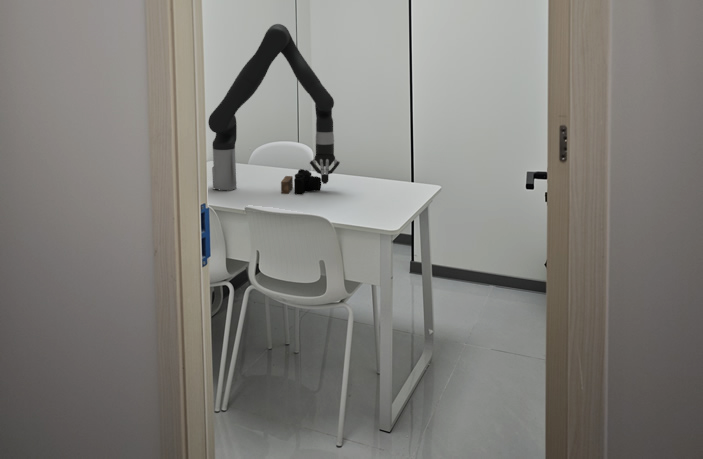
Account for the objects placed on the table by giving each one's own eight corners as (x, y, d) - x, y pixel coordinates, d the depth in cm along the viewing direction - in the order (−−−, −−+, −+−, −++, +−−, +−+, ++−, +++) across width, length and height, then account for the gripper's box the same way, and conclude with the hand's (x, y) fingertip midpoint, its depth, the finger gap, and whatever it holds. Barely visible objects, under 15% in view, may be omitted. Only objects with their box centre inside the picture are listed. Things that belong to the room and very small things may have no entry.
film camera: (314, 196, 301) (314, 174, 299) (291, 194, 303) (291, 173, 301) (323, 187, 316) (323, 167, 313) (302, 186, 317) (301, 166, 315)
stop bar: (281, 193, 304) (281, 181, 303) (285, 187, 315) (285, 176, 313) (288, 193, 304) (288, 181, 303) (292, 187, 315) (292, 176, 313)
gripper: (307, 143, 300) (308, 184, 305) (339, 144, 299) (339, 185, 304) (310, 140, 307) (310, 181, 312) (341, 141, 306) (341, 181, 311)
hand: (325, 183), depth 308 cm, fingers closed
